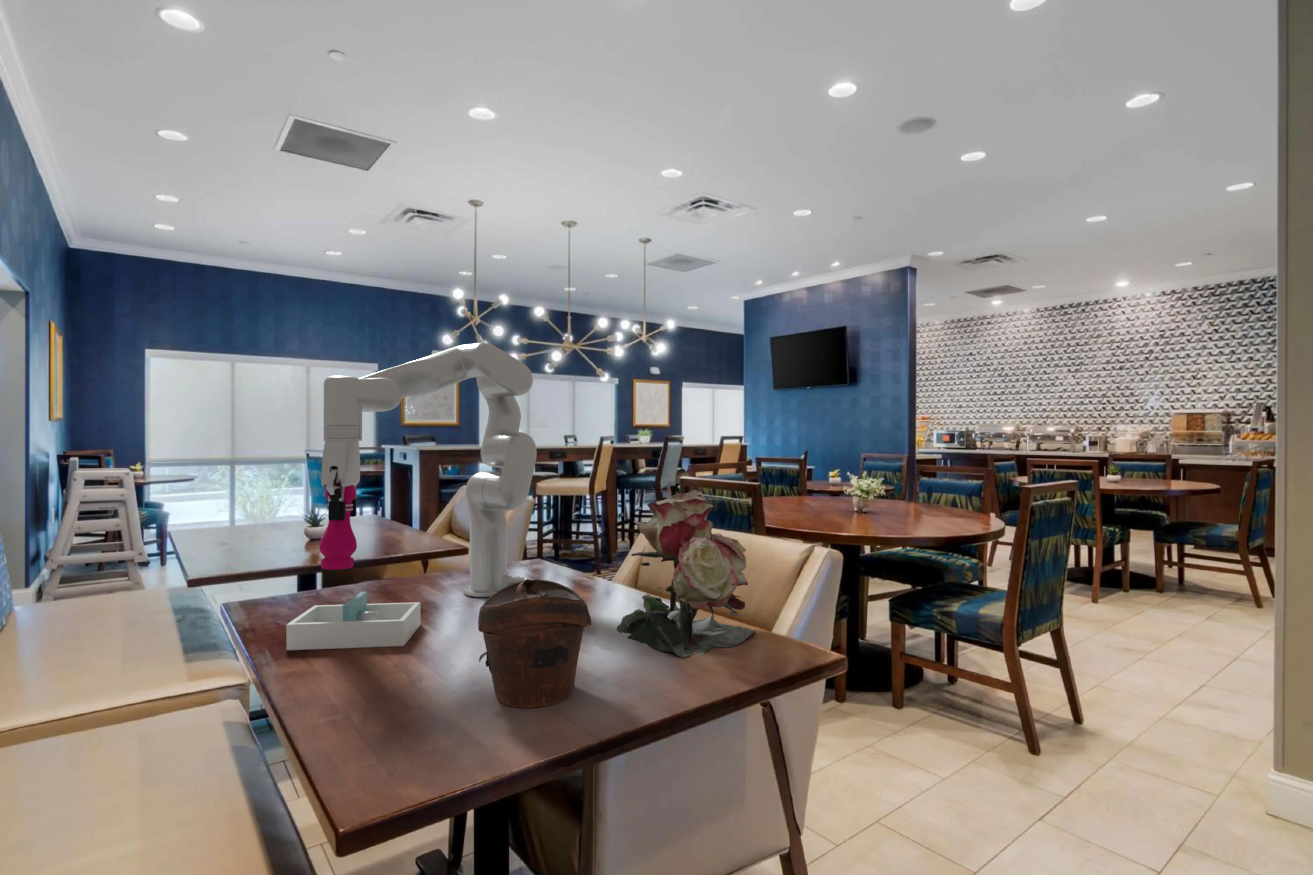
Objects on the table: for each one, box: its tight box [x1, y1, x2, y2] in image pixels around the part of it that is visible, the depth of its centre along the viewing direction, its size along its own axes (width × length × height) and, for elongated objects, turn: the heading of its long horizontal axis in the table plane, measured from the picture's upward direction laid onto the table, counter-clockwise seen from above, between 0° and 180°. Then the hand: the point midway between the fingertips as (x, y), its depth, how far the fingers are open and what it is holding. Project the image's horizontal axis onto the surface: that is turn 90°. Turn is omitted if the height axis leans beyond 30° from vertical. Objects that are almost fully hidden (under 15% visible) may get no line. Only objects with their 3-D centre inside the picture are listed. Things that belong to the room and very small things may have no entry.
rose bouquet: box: [616, 489, 756, 658], centre depth 140 cm, size 26×29×30 cm
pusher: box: [342, 591, 378, 621], centre depth 138 cm, size 5×11×7 cm, turn 7°
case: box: [477, 578, 592, 709], centre depth 109 cm, size 18×20×18 cm
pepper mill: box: [318, 484, 358, 570], centre depth 142 cm, size 7×7×20 cm
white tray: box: [285, 601, 421, 651], centre depth 137 cm, size 22×14×5 cm, turn 97°
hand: (342, 517), depth 143 cm, fingers closed on pepper mill, 5 cm apart
